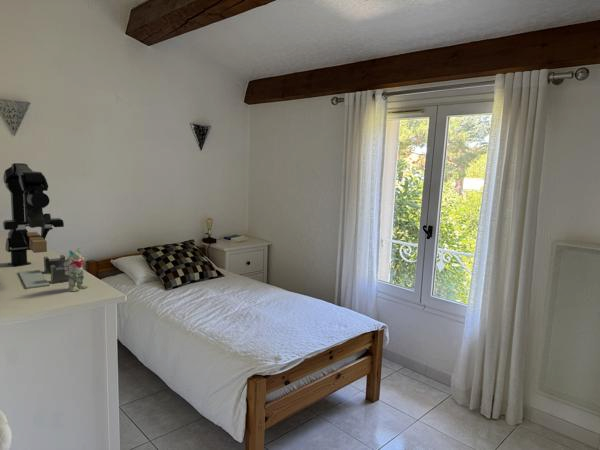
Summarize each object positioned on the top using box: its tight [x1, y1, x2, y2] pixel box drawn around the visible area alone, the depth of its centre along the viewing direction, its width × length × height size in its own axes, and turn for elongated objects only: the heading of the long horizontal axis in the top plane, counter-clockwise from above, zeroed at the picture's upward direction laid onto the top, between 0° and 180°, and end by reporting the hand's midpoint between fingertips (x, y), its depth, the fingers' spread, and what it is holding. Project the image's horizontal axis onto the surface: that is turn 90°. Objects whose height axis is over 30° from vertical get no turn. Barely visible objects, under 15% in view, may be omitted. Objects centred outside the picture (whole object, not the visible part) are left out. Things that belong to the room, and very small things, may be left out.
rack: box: [43, 254, 70, 284], centre depth 160 cm, size 20×7×6 cm, turn 40°
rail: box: [25, 231, 48, 254], centre depth 154 cm, size 22×4×4 cm, turn 41°
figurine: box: [62, 247, 89, 293], centre depth 145 cm, size 8×8×15 cm
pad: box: [18, 268, 50, 290], centre depth 155 cm, size 25×7×1 cm, turn 40°
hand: (35, 246), depth 154 cm, fingers closed on rail, 4 cm apart
